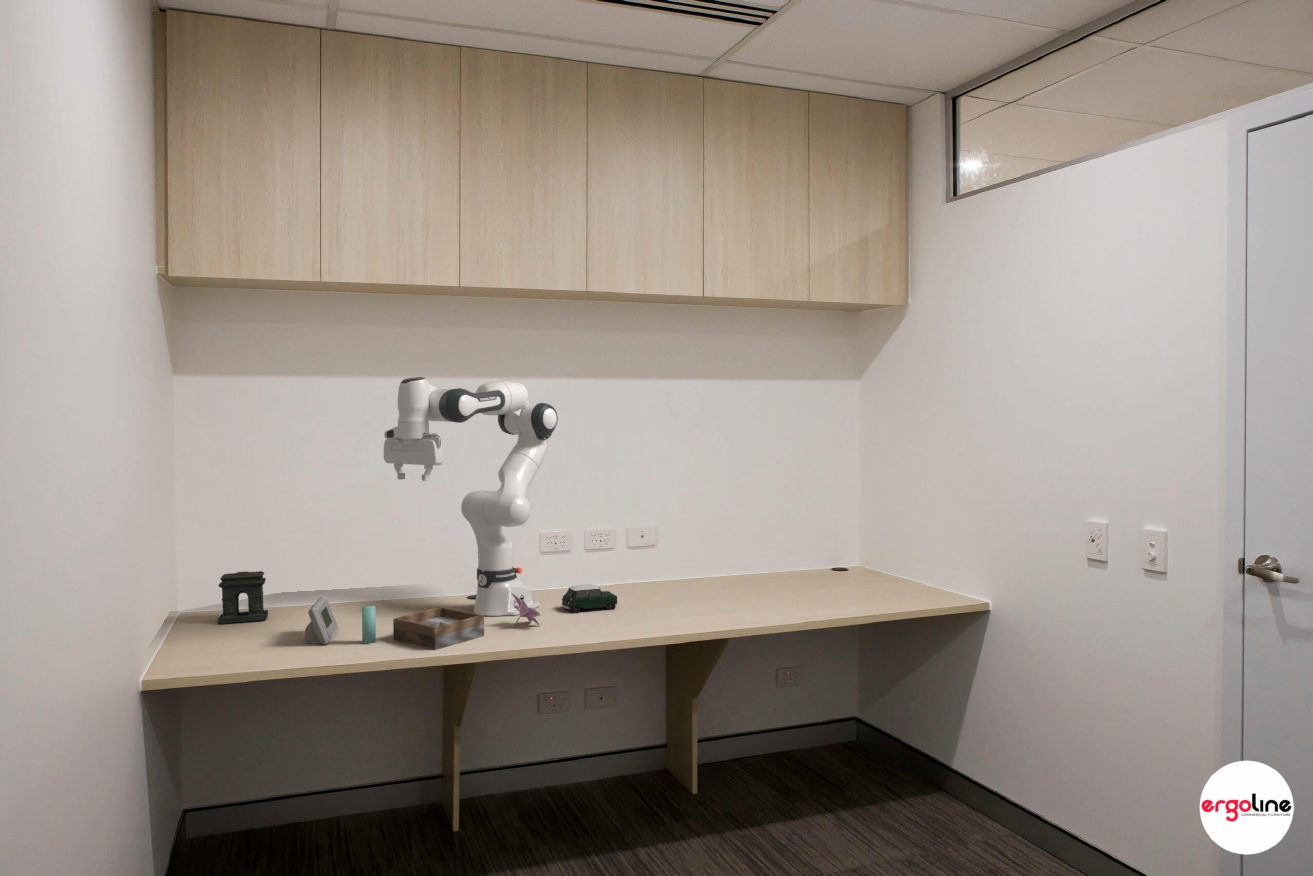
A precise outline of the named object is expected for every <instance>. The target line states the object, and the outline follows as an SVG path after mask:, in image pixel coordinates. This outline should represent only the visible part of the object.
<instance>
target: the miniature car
mask: <svg viewBox="0 0 1313 876" xmlns="http://www.w3.org/2000/svg"><path fill="white" fill-rule="evenodd" d="M618 604H619V603H618V596H617V595H615V594H614V593H612V592H611V591H609V590H603V591H602V590H601V588H600V587H599V586H598V585H596V584H590V583H589V584H588V583H587V584H576V585H571V586H569V587H568V589H567V591H566V593H565V594H564V595H562V598H561V606H562V607H564V608H565V609H568V610H571V613H573V614H579V613H580V612H581V608H582V609H592V608H593V609H596V608H605V607H606V609H607V610H608V611H613V610H615V609H616V607H617V605H618Z"/></svg>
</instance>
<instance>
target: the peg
mask: <svg viewBox="0 0 1313 876" xmlns="http://www.w3.org/2000/svg"><path fill="white" fill-rule="evenodd" d="M376 612H377V611H376V606H375V605H366V606H362V607H361V623H362V624H361V629H362V631H361V633H362V634H361V637H362V639H361V640H362V644H363V643H364V644H363V645H370V644H369V643H373V644H375V643H376V642H377V636H376V634H377V632H376V631H377V630H376V625H377V621H376V620H377V619H376V615H377V614H376Z"/></svg>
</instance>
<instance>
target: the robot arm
mask: <svg viewBox="0 0 1313 876" xmlns="http://www.w3.org/2000/svg"><path fill="white" fill-rule="evenodd" d="M397 411H398V419H397V426H394V427H392V428H390V429H388V430H385V431H384V433H383V436H384V438H385V440H384V443H383V460H384V462H385V463H386V464H393V467H394V471H395V472H396V475H397V480H405V479H406V473H405V472H403V471H404V470H403V465H413V466H414V465H417V466H418V465H419V466H423V468H424V473H423V474H421V481H424V482H425V481H426V482H427V481H430V476H431V474H432V471H433V470H434V466H441V465H442V464H443V463H444V451H443V445H442V438H441V437H440V435H438V433H436V432H434V433H433V432H431V433H430V421H431V422H450V423H458V424H459V423H460V424H461V423H464V422H467V421H468V420H470V419H471V418H473V417H474V416H476V415H477V414H482V415H485V416H486V415H487V416H497V423H498V426H499V428H500V430H501V431H502V432H503V433H505V434H508V435H513V436H515V435H518V437H517V441H516V444H515V445H514V446H513V447H512V449H511V450H510V452H509V454H508V455H507V457H506V459H505V460H504V462H503V463H502V465H501V467H500V469H499V470H498V472H497V474H498V479H499V482H500V483H501V486H500V487H499V489H497V490H496V491H494V490H493V491H492V490H477V491H472V492H468V493H467V494H466V495H465V496H464V497H463V498H462V501H461V505H460V506H461V508H460V509H461V514H462V516H463V517H464V519H465V520H466V521H467V522H468V523H469V525H470V527H471V529H472V531H473V534H474V536H475V541H476V545H477V563H478V564H477V565H478V567H477V568H476V580H477V587H476V595H475V602H474V605H473V611H472V613H476V614H480V615H484V616H487V617H492V616H493V617H496V616H497V617H499V616H517V615H520V612H519V610H520V608H519V610H517V609H516V608H514V606H516V605H518V603H517V601H516V599H515V598H514V597H513V595H512V594H514V595H515V596H517V597H518V598H519V599H520V600H521V601H522V600H524V601H525V603H526V604H527V606H528V607H530V608H533V609H536V608H538V607H540V606H541V605H540V602H539V601H536V600H533V593H532V589H531V587H529V586H528V585H526V583H524V582H523V581H522V580H520V579H519V578H518V575H517V574H519V575H520V574H522V573H523V568H522V567H518V566H516V567H514V565H513V563H514V559H513V558H514V554H513V553H514V552H513V551H514V549H513V548H514V546H513V545H514V544H513V543H512V541H511V540H510V538H508V536H506V534H505V532H504V530H503V527H505V528H511V527H518V526H522V525H523V526H524V525H525V524H526V523H527V521H528V519H529V517H530V515H531V505H530V501H529V500H528V498H527V494H528V489H529V488H530V485H531V483H532V481H533V480H534V479H535V476H536V474H537V473H538V471H539V469H540V467H541V465H542V464H543V462H544V458H545V456H546V453H547V450H548V445H547V442H546V441H547V440H549V439H550V438H551V436H552V434H553V432H554V431H555V429H556V426H557V423H558V418H559V417H558V413H557V410H556V408H555V407H554V406H552V405H551V404H549V403H545V402H529V391H528V389H527V387H526V386H524V385H523V384H522V383H520V382H517V381H512V380H494V381H490V382H486V383H483V384H481V385H479V386H478V387H477V389H476V391H475V392H472V391H469V390H467V389H465V388H461V387H460V388H449V389H448V388H445V389H444V388H443V389H442V388H441V389H439V388H437V387H435V386H434V385H432V384H431V383H430V382H428V380H427V378H426V377H423V376H416V377H408V378H404V379H402V380H401V381H400V382H399V385H398V391H397ZM511 593H512V594H511ZM518 606H519V605H518Z"/></svg>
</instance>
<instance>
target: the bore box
mask: <svg viewBox="0 0 1313 876" xmlns="http://www.w3.org/2000/svg"><path fill="white" fill-rule="evenodd" d="M392 621H393V623H392V624H393V625H392V627H393V630H392V631H393V633H392V634H393V636H392V637H393V640H394V641H398V642H402V643H406V642H407V644H410V643H411V645H414V644H415V646H418V645H419V646H418V647H423V648H427V649H431V650H434V651H436V650H440V649H443V648H446V647H447V648H448V647H450V646H455V645H457V644H461V643H464V642H467V641H471V640H474V639H478V638H481V637H480V636H482V637H484V636H485V615H480V614H476V613H474V612H470V611H465V610H461V609H455V608H450V607H445V606H439V607H436V608H431V609H428V610H423V611H419V612H414V613H411V614H407V615H403V616H399V617H394V618H392ZM483 635H484V636H483Z"/></svg>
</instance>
